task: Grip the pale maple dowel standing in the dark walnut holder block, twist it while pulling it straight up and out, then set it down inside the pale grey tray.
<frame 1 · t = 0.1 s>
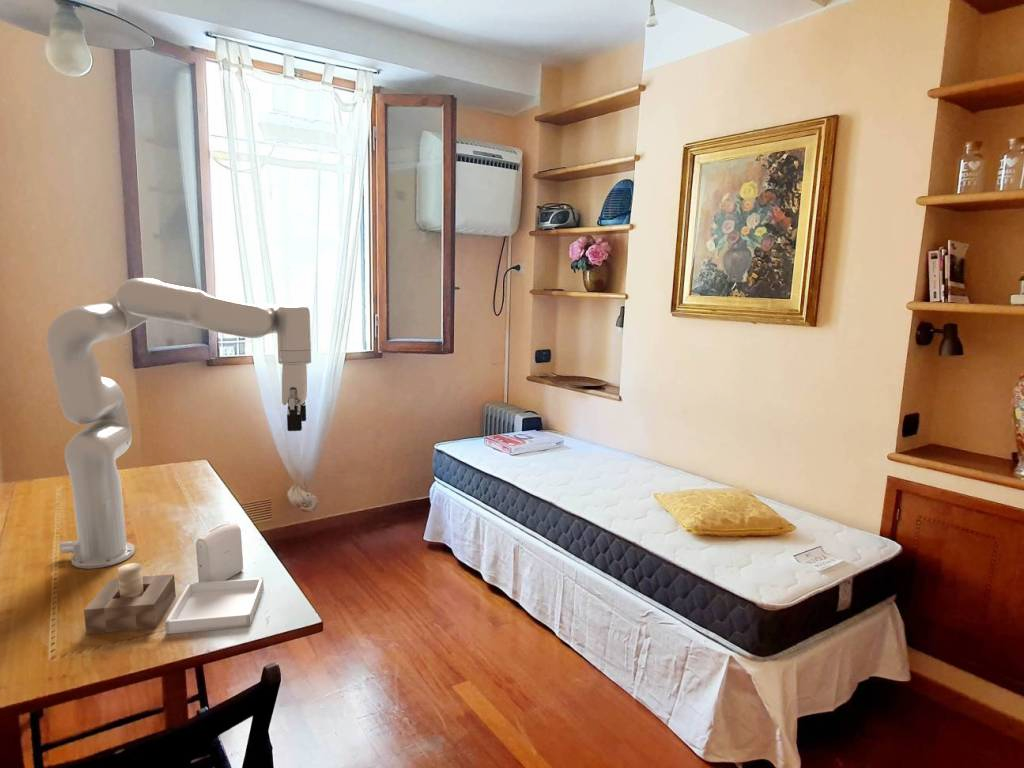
hand: (297, 425, 151), 31 cm above the table, tool pointing down, fingers open, 9 cm apart
dowel: (131, 591, 122), in the holder
photo printer: (221, 579, 138), on the table
tray: (218, 609, 126), on the table
holder: (133, 614, 123), on the table
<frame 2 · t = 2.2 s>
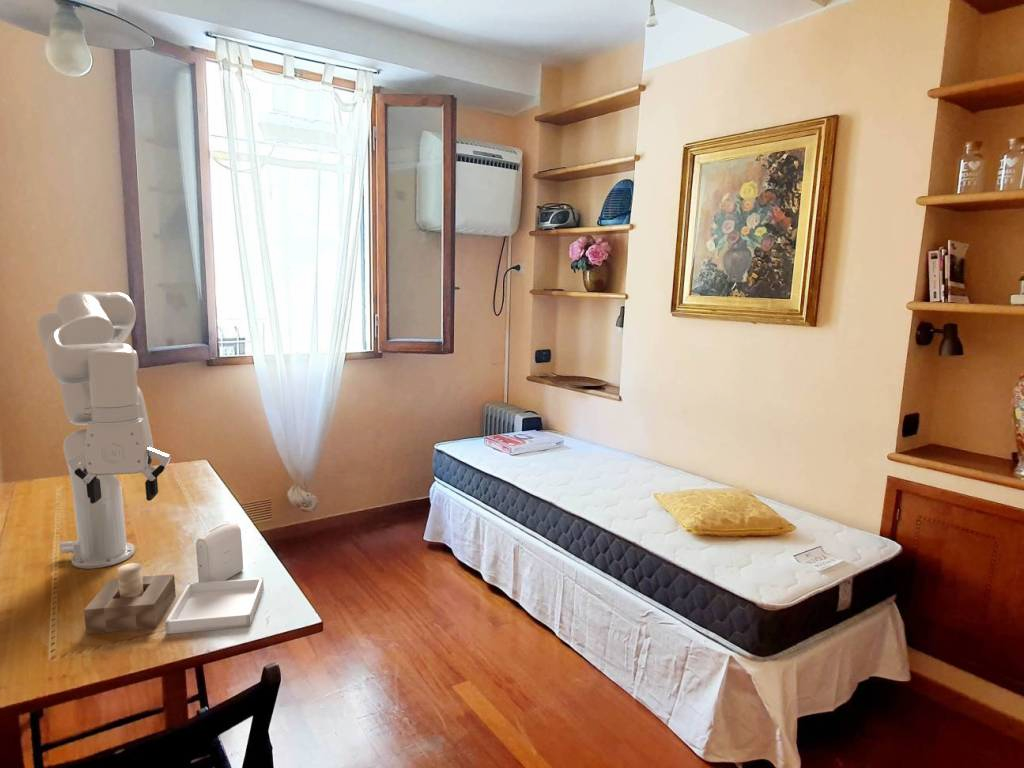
hand: (124, 499, 119), 24 cm above the table, tool pointing down, fingers open, 9 cm apart
nothing on the table moved.
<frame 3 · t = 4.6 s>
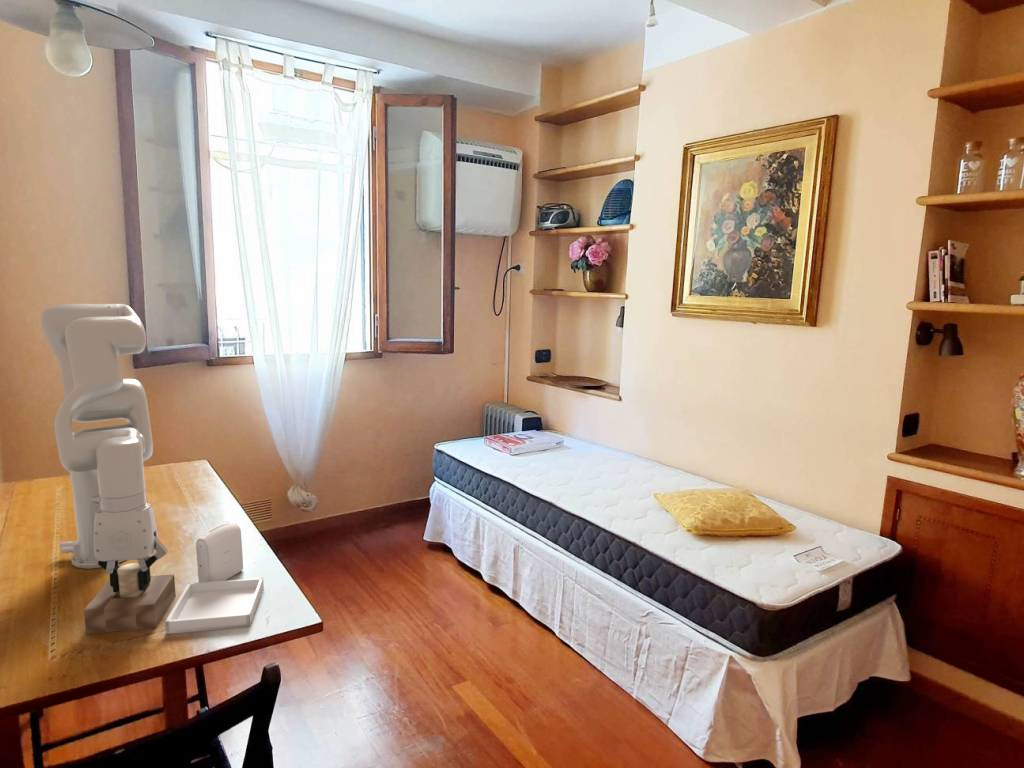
hand: (131, 587, 122), 6 cm above the table, tool pointing down, fingers closed on dowel, 4 cm apart
dowel: (131, 591, 122), in the holder, touching gripper
everything else where it was.
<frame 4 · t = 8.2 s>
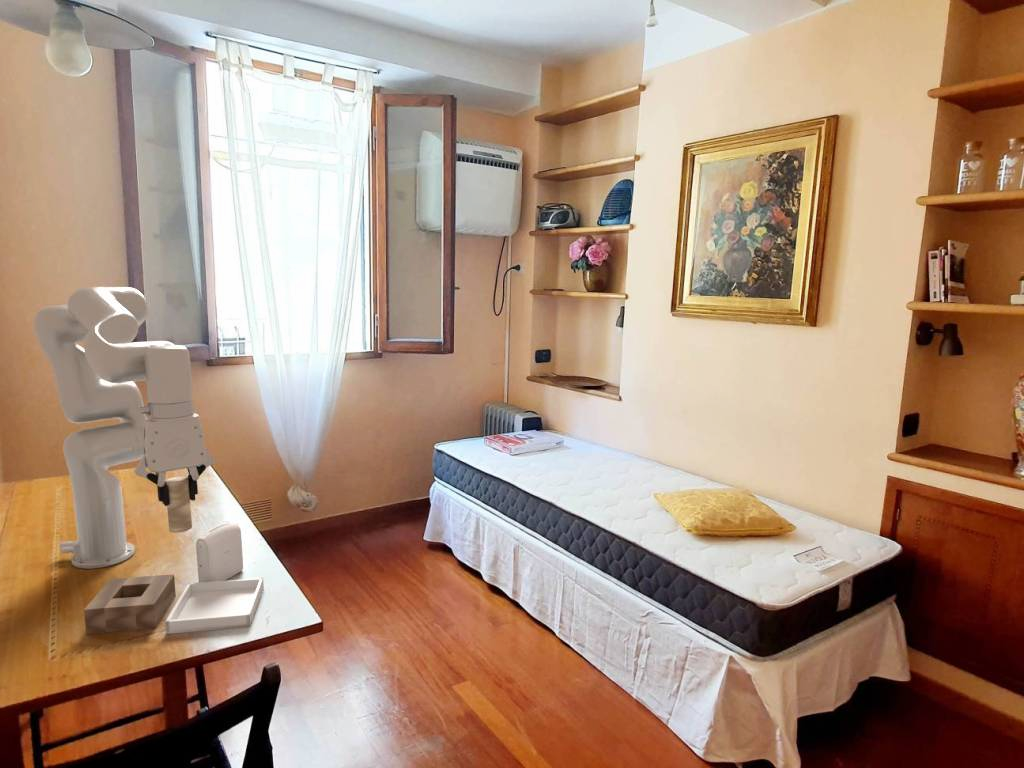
hand: (178, 500, 120), 24 cm above the table, tool pointing down, fingers closed on dowel, 4 cm apart
dowel: (178, 504, 120), point 23 cm above the table, touching gripper
everything else where it was.
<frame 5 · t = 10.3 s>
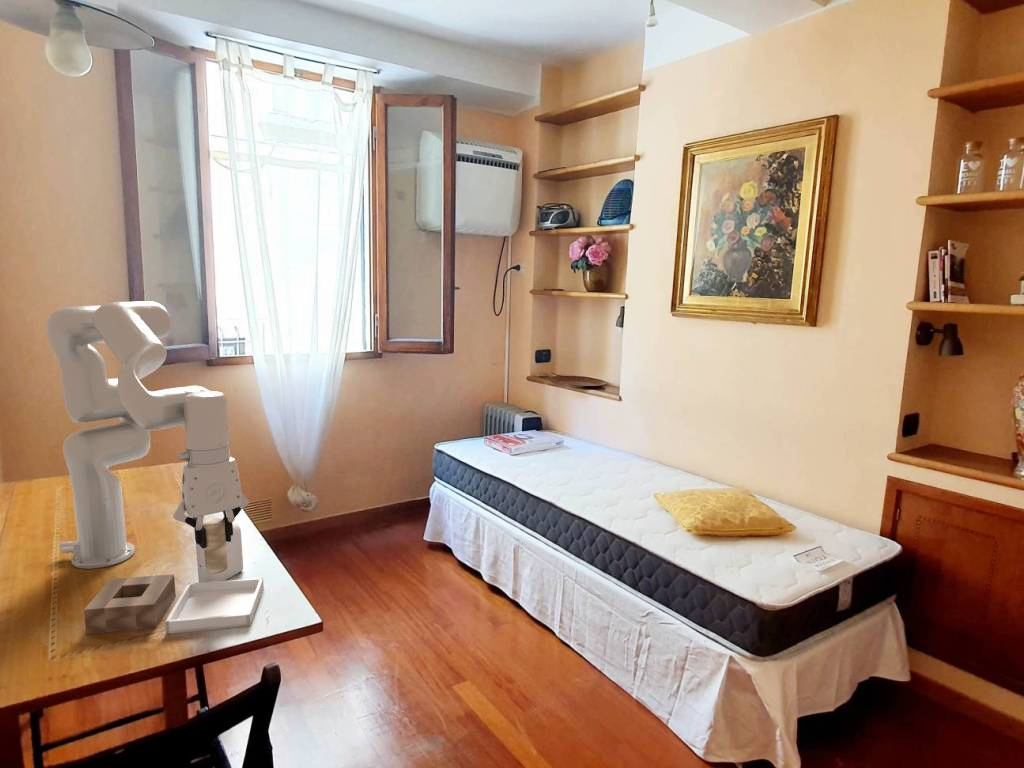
hand: (214, 542, 123), 15 cm above the table, tool pointing down, fingers closed on dowel, 4 cm apart
dowel: (215, 545, 123), point 14 cm above the table, touching gripper
everything else where it was.
when the fingers open (8 cm above the table, at t = 11.9 s): dowel drops 1 cm, resting on tray.
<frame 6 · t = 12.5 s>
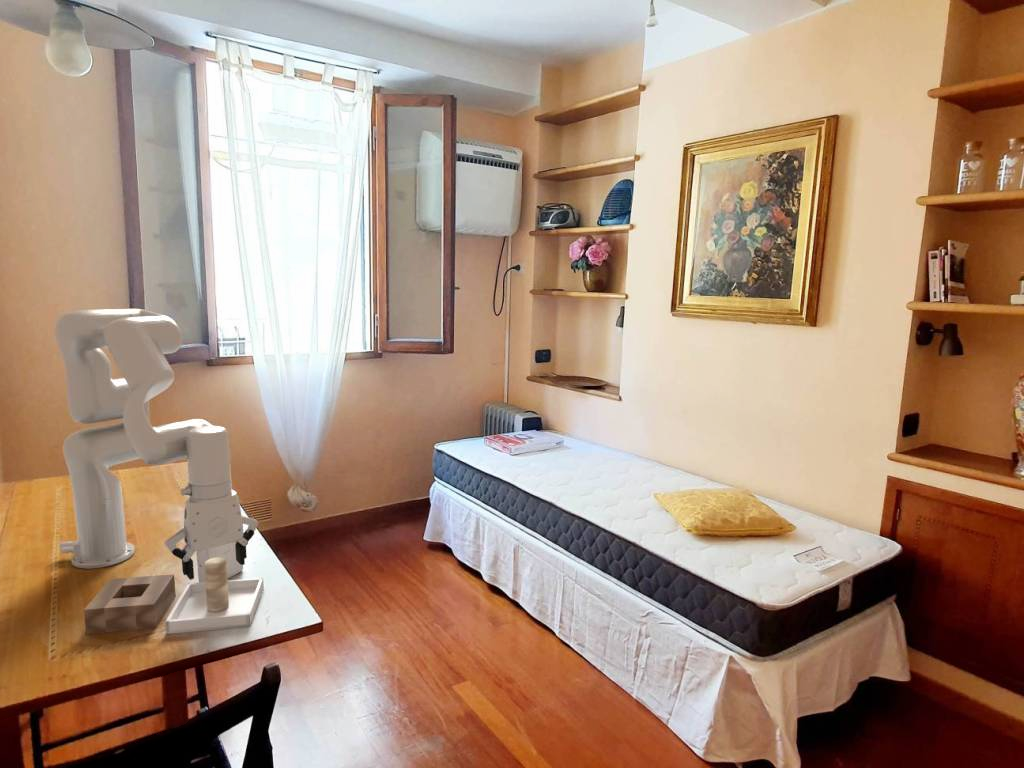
hand: (215, 569, 124), 9 cm above the table, tool pointing down, fingers open, 9 cm apart
dowel: (216, 584, 125), in the tray
everything else where it was.
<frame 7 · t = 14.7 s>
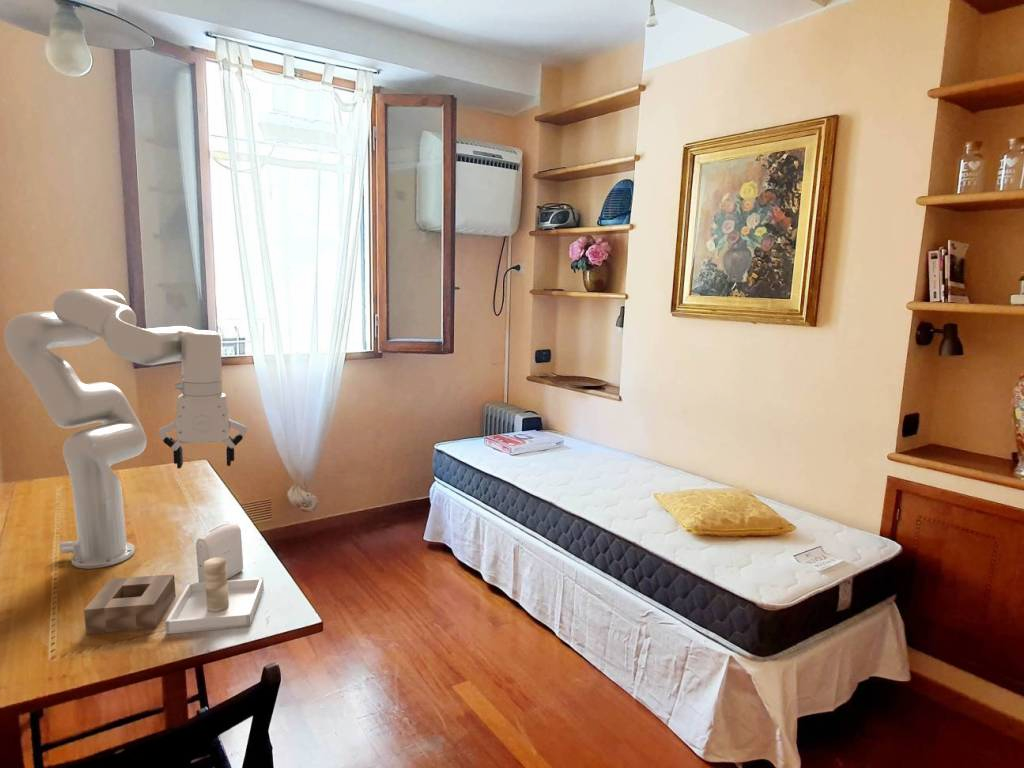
hand: (204, 465, 134), 26 cm above the table, tool pointing down, fingers open, 9 cm apart
nothing on the table moved.
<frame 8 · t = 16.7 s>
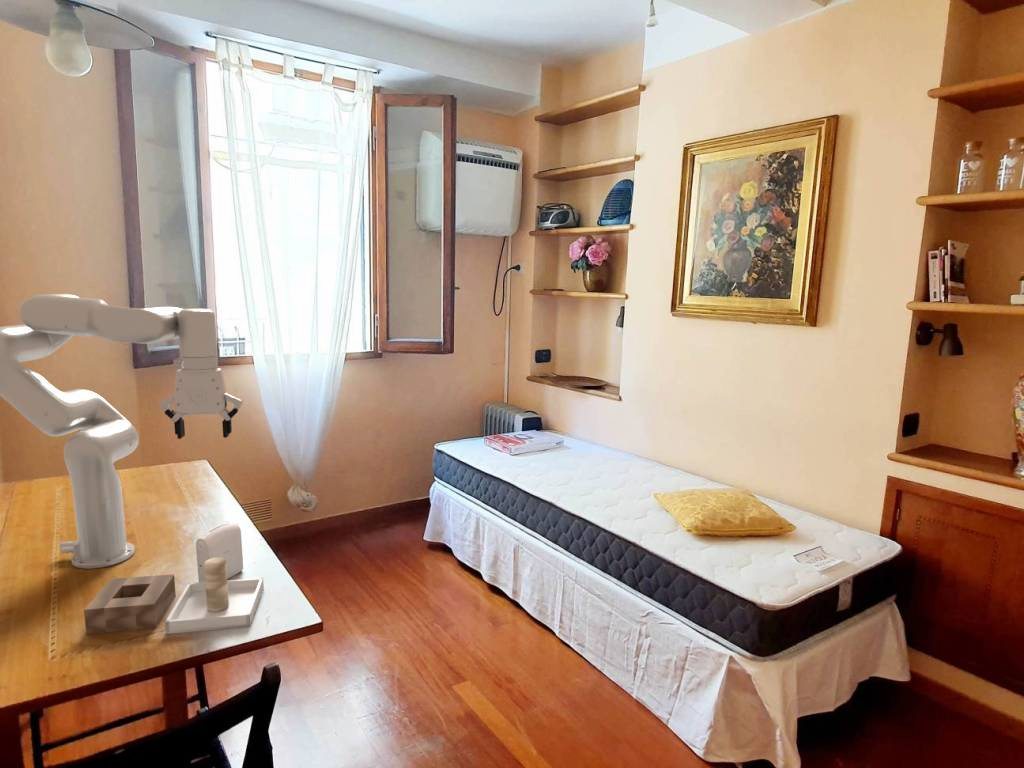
hand: (204, 436, 142), 30 cm above the table, tool pointing down, fingers open, 9 cm apart
nothing on the table moved.
at the end: dowel inside the target area on the tray (0.0 cm from its centre), point 5.5 cm above the tray's base; the gripper is holding nothing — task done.
